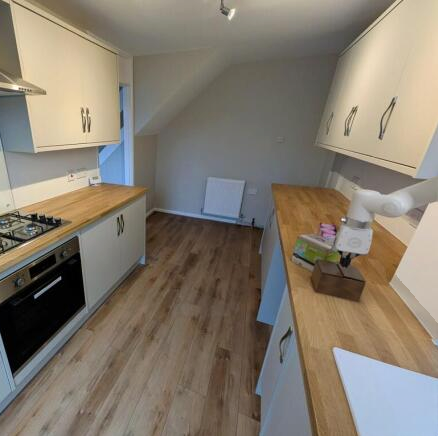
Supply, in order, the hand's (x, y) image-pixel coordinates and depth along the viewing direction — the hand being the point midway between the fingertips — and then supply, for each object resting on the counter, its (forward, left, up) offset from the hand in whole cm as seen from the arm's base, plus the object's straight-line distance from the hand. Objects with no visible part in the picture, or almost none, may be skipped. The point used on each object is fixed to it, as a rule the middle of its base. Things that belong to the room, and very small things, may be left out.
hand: (343, 265), depth 94 cm
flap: (-3, 0, -2) cm, 3 cm away
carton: (+1, 0, -12) cm, 12 cm away
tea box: (+6, -17, -12) cm, 22 cm away
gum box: (-2, -37, -12) cm, 39 cm away
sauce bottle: (-32, -82, -12) cm, 89 cm away
